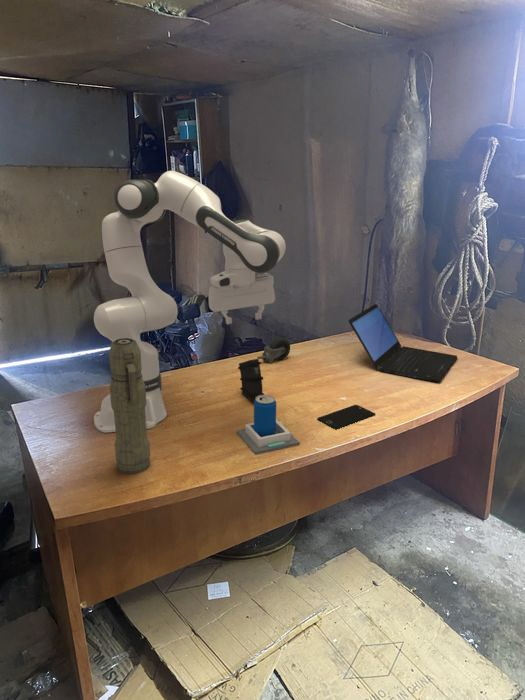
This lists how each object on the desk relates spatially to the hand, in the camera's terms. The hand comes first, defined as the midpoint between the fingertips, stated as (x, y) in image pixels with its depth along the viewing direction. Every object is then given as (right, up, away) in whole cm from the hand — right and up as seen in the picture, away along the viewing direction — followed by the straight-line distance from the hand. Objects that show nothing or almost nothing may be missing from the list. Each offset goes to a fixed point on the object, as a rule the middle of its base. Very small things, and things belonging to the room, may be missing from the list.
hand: (243, 321), depth 163 cm
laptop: (+63, -14, +58) cm, 87 cm away
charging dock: (+7, -35, -5) cm, 36 cm away
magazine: (+2, -25, +23) cm, 34 cm away
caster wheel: (+10, -13, +57) cm, 60 cm away
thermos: (-29, -40, -19) cm, 53 cm away
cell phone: (+33, -31, +9) cm, 46 cm away
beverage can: (+6, -34, -5) cm, 35 cm away
